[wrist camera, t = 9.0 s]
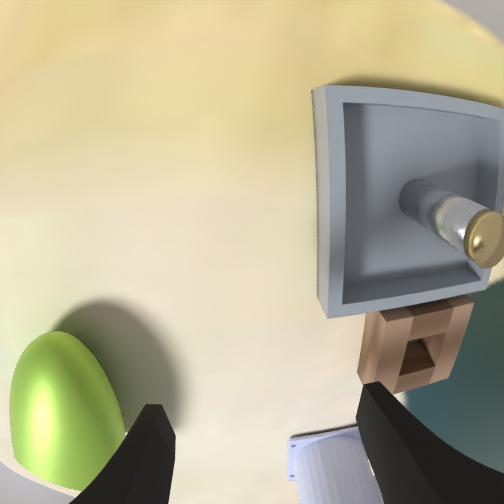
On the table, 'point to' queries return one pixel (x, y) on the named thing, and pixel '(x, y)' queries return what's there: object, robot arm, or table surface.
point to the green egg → (63, 412)
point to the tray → (397, 193)
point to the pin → (455, 221)
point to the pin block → (416, 354)
